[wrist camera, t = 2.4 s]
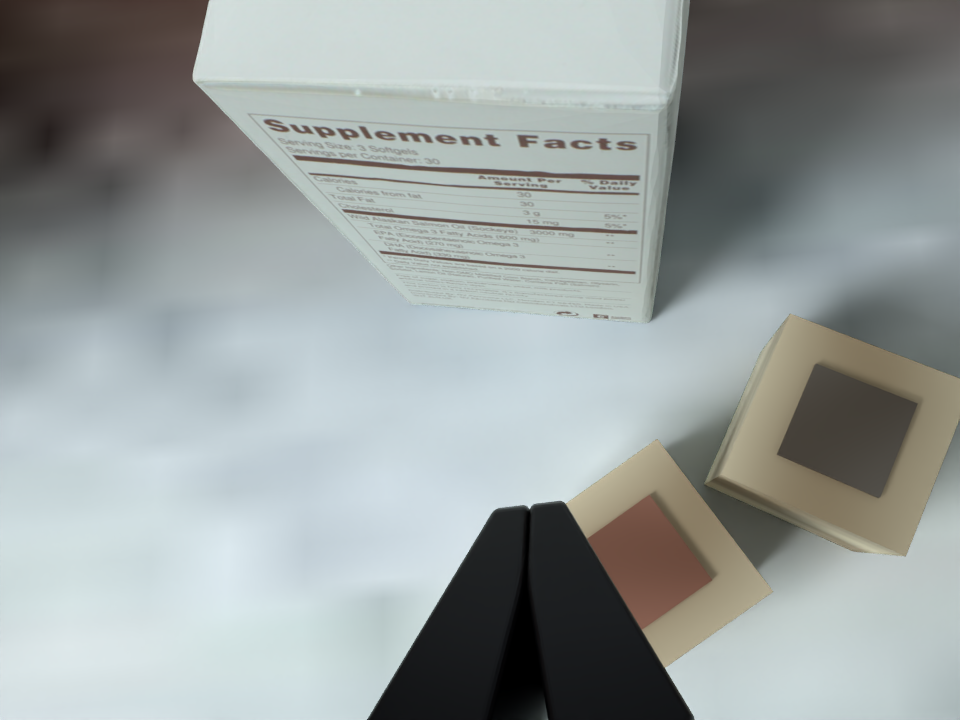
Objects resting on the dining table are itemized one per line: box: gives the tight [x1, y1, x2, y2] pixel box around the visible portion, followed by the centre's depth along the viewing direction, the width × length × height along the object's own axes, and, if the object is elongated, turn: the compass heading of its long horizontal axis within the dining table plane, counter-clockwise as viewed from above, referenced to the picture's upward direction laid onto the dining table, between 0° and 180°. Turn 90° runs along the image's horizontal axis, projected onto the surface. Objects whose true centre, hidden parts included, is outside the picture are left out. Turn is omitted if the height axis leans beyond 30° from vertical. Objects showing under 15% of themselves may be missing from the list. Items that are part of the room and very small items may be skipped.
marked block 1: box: [566, 439, 773, 668], centre depth 19 cm, size 4×4×4 cm
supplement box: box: [193, 0, 690, 323], centre depth 18 cm, size 7×7×13 cm
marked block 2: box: [704, 314, 960, 556], centre depth 19 cm, size 4×4×4 cm
